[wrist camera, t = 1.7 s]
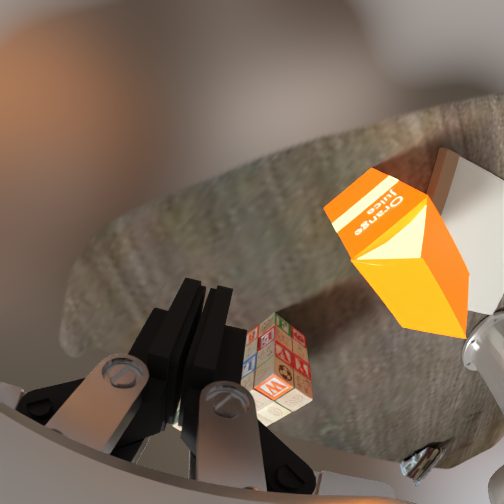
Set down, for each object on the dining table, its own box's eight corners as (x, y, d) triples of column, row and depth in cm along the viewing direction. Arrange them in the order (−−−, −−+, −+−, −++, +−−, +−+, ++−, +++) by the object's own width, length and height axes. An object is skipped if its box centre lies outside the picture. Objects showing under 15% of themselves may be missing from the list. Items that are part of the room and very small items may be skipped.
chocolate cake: (429, 439, 52) (404, 484, 48) (447, 447, 51) (423, 490, 47) (409, 434, 61) (386, 474, 57) (427, 442, 60) (405, 481, 56)
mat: (537, 202, 32) (545, 206, 30) (491, 314, 39) (496, 320, 38) (439, 147, 31) (447, 148, 29) (388, 291, 39) (392, 298, 37)
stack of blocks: (212, 401, 50) (200, 459, 38) (183, 383, 48) (165, 441, 37) (306, 335, 43) (314, 401, 31) (275, 309, 41) (274, 375, 30)
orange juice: (372, 166, 33) (468, 215, 15) (411, 222, 35) (504, 307, 17) (321, 208, 35) (368, 298, 17) (364, 261, 38) (424, 371, 19)
